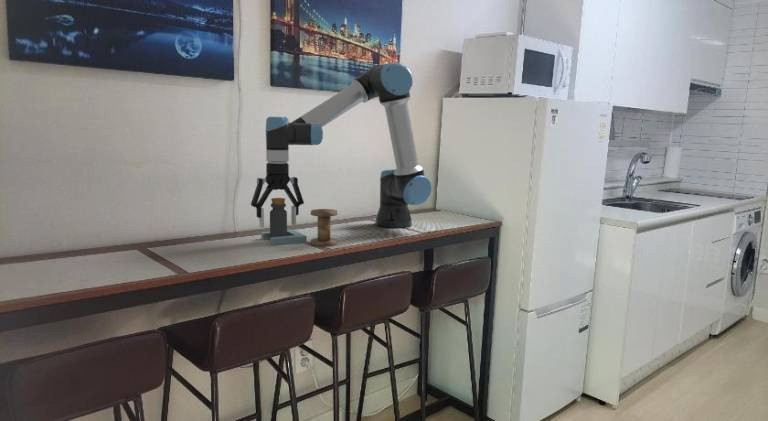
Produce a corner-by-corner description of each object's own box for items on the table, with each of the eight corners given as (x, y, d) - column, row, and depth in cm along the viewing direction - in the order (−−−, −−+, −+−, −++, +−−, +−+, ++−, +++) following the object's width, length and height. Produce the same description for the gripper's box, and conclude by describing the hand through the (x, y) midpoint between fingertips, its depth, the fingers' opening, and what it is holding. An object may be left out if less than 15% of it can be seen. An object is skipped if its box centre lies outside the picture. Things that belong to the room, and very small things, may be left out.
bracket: (293, 236, 199) (293, 229, 199) (306, 242, 188) (306, 236, 188) (261, 238, 193) (261, 232, 193) (273, 246, 182) (272, 238, 182)
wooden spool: (330, 240, 194) (330, 208, 192) (341, 245, 186) (341, 212, 184) (306, 242, 189) (306, 209, 187) (316, 247, 181) (317, 213, 180)
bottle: (266, 241, 189) (266, 198, 186) (277, 238, 194) (276, 197, 192) (279, 243, 186) (279, 200, 184) (290, 240, 191) (290, 198, 189)
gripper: (305, 161, 195) (305, 221, 198) (240, 162, 183) (241, 226, 186) (313, 162, 188) (313, 225, 191) (246, 163, 177) (247, 230, 180)
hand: (278, 225), depth 189 cm, fingers open, 11 cm apart
